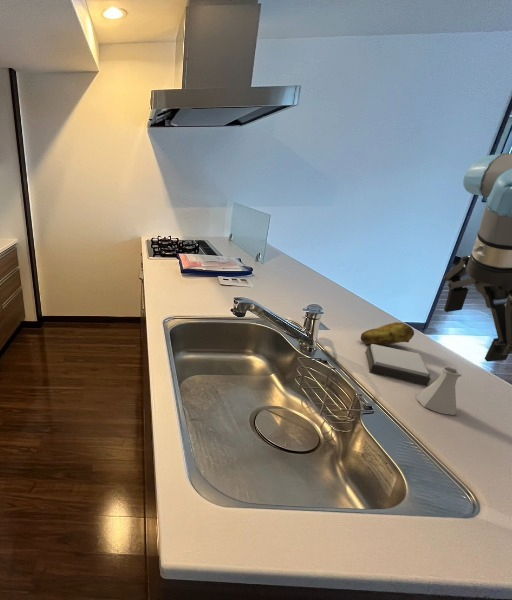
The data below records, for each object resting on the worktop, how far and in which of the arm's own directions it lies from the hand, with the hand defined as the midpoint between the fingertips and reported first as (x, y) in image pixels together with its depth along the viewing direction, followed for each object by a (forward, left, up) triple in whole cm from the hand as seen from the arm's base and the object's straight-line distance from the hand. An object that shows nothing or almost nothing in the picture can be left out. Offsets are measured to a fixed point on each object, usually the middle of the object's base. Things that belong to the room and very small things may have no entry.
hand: (472, 332), depth 67 cm
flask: (0, -2, -21) cm, 21 cm away
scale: (+6, -16, -21) cm, 27 cm away
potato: (+7, -30, -21) cm, 37 cm away
